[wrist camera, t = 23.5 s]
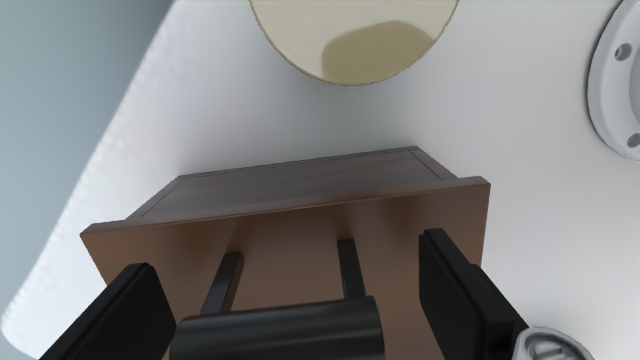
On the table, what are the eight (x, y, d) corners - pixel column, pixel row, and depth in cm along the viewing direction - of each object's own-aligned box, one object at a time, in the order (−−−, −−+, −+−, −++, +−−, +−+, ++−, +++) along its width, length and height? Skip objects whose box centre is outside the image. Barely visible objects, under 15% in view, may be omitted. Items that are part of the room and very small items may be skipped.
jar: (398, -48, 15) (496, -179, 7) (383, 79, 18) (445, 91, 9) (277, -56, 15) (234, -201, 7) (277, 73, 17) (245, 80, 9)
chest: (177, 175, 20) (112, 228, 13) (416, 145, 19) (468, 184, 13) (226, 331, 24) (196, 425, 18) (418, 309, 24) (456, 397, 18)
